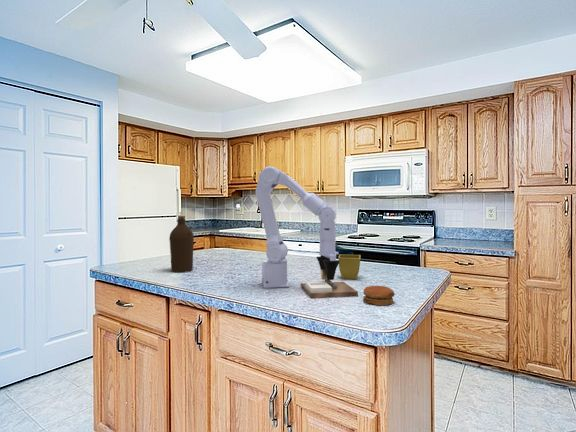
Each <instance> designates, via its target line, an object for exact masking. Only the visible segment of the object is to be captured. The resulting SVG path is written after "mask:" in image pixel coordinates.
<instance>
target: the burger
mask: <svg viewBox="0 0 576 432" xmlns="http://www.w3.org/2000/svg"><path fill="white" fill-rule="evenodd" d="M363 295H364V296H363V297H362V298H363V299H362V300H363V302H364V303H368V304H371V305H375V306H390V305H393V304H394V303H393V302H394V297H395V292H394V290H393V289H392V288H390V287H388V286H385V285H368V286H366V287H364V288H363Z"/></svg>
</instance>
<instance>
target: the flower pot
mask: <svg viewBox="0 0 576 432" xmlns="http://www.w3.org/2000/svg"><path fill="white" fill-rule="evenodd" d="M337 259H338V261H339V264H338V268H339V269H338V270H339V273H340V276H341V277H342V279H344V280H346V279H347V280H352V279H353V280H356V279H357V278H358V275H359V272H360V266H361V254H338V258H337Z"/></svg>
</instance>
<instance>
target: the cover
mask: <svg viewBox="0 0 576 432" xmlns="http://www.w3.org/2000/svg"><path fill="white" fill-rule="evenodd" d="M304 283H305V287H306V288H307V289H308V290H309V291H310V292H311V293H321V292H332V287H331V286H330V285H328V284H327V283H326V282H325V280H317V281H316V280H315V281H304Z"/></svg>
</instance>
